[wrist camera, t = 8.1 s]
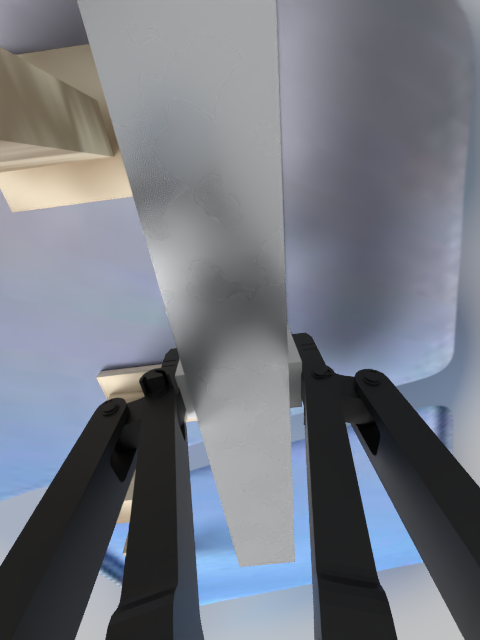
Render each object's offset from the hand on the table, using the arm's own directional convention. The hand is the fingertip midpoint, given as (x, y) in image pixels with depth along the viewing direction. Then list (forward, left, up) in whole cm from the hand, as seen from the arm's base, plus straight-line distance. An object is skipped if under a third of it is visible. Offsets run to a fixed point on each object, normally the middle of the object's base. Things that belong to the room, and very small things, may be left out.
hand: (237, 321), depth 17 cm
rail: (0, 0, +2) cm, 2 cm away
